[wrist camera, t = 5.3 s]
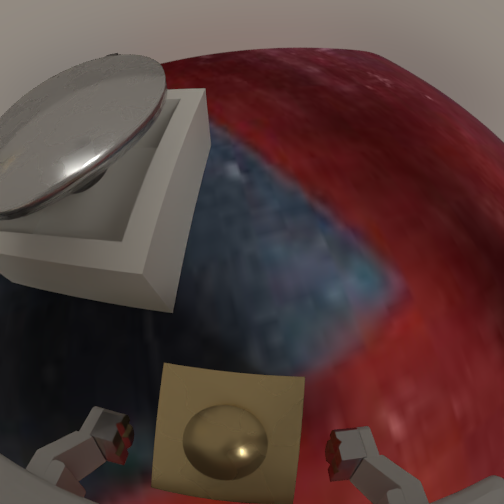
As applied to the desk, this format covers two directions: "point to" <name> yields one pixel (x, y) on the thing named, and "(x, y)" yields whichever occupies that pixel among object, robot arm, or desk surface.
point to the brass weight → (228, 435)
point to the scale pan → (75, 129)
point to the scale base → (121, 219)
